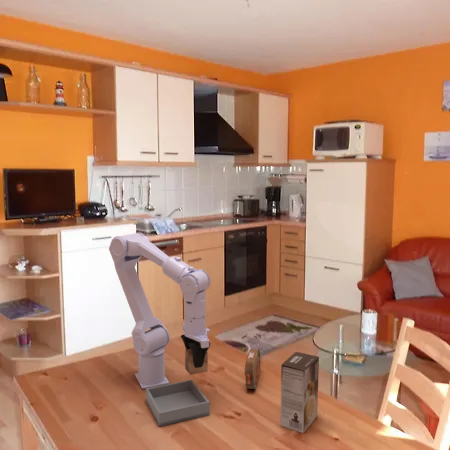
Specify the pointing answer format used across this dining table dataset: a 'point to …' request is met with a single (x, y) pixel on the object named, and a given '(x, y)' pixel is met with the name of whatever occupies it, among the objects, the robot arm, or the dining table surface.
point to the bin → (177, 402)
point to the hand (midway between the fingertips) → (195, 363)
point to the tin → (252, 369)
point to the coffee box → (299, 391)
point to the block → (190, 365)
